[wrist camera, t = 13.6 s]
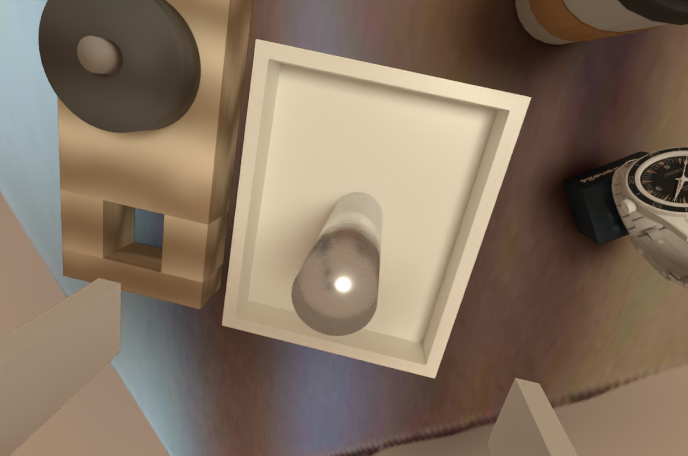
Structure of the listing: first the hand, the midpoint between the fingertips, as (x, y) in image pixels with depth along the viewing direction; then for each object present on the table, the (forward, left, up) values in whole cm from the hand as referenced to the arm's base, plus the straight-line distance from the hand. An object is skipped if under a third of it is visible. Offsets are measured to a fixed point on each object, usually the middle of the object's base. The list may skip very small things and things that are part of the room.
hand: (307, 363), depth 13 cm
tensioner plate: (-2, -17, -20) cm, 26 cm away
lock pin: (0, 0, -19) cm, 19 cm away
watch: (-6, +18, -20) cm, 28 cm away
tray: (0, 0, -20) cm, 20 cm away
